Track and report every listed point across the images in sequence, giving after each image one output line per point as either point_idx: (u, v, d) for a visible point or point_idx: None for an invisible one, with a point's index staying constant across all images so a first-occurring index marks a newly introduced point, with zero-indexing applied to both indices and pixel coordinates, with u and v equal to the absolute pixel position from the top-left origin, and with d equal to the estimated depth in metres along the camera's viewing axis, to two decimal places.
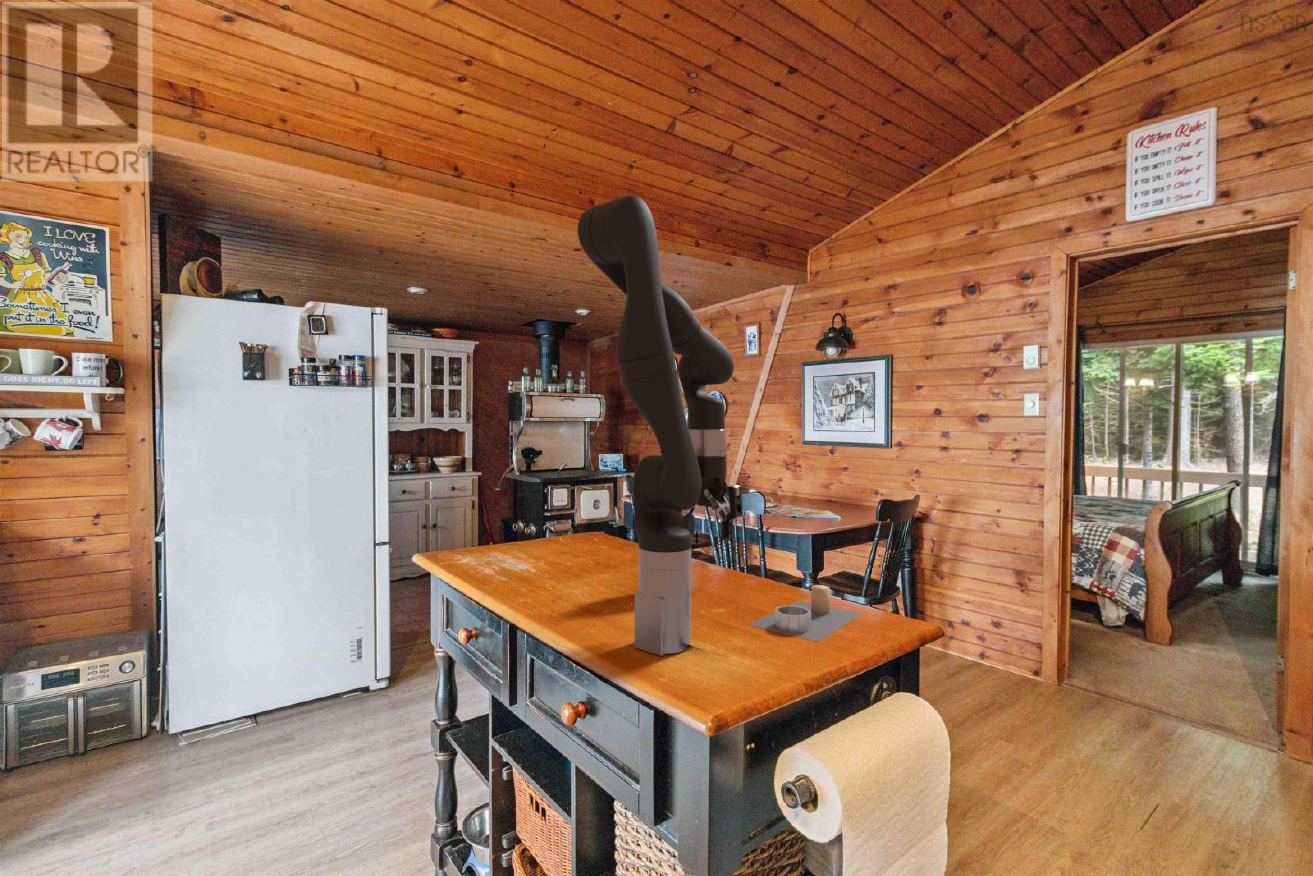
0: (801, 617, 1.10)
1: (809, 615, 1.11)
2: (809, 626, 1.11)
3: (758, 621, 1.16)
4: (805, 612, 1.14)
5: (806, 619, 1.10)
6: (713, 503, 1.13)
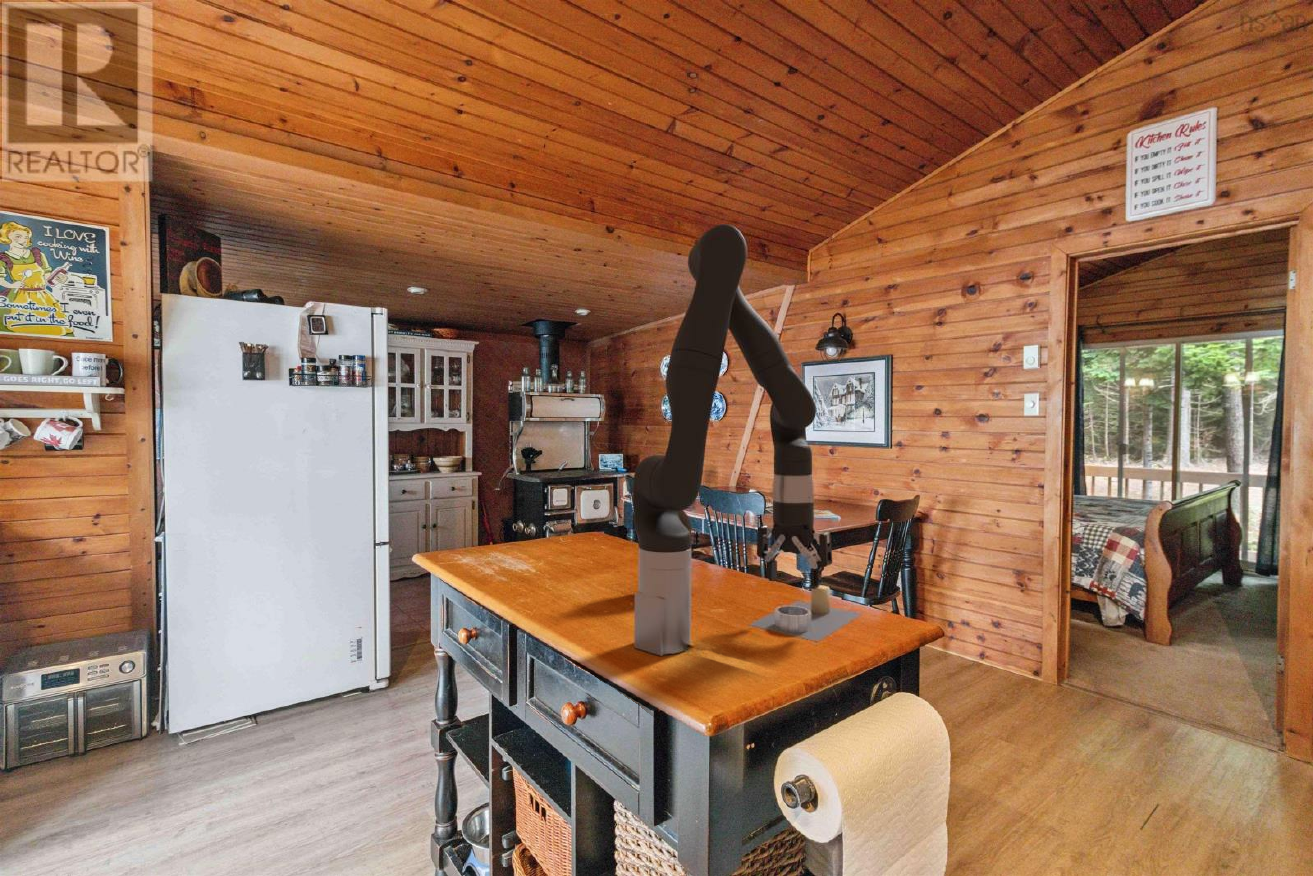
0: (801, 617, 1.10)
1: (809, 615, 1.11)
2: (809, 626, 1.11)
3: (758, 621, 1.16)
4: (805, 612, 1.14)
5: (806, 619, 1.10)
6: (802, 550, 1.11)
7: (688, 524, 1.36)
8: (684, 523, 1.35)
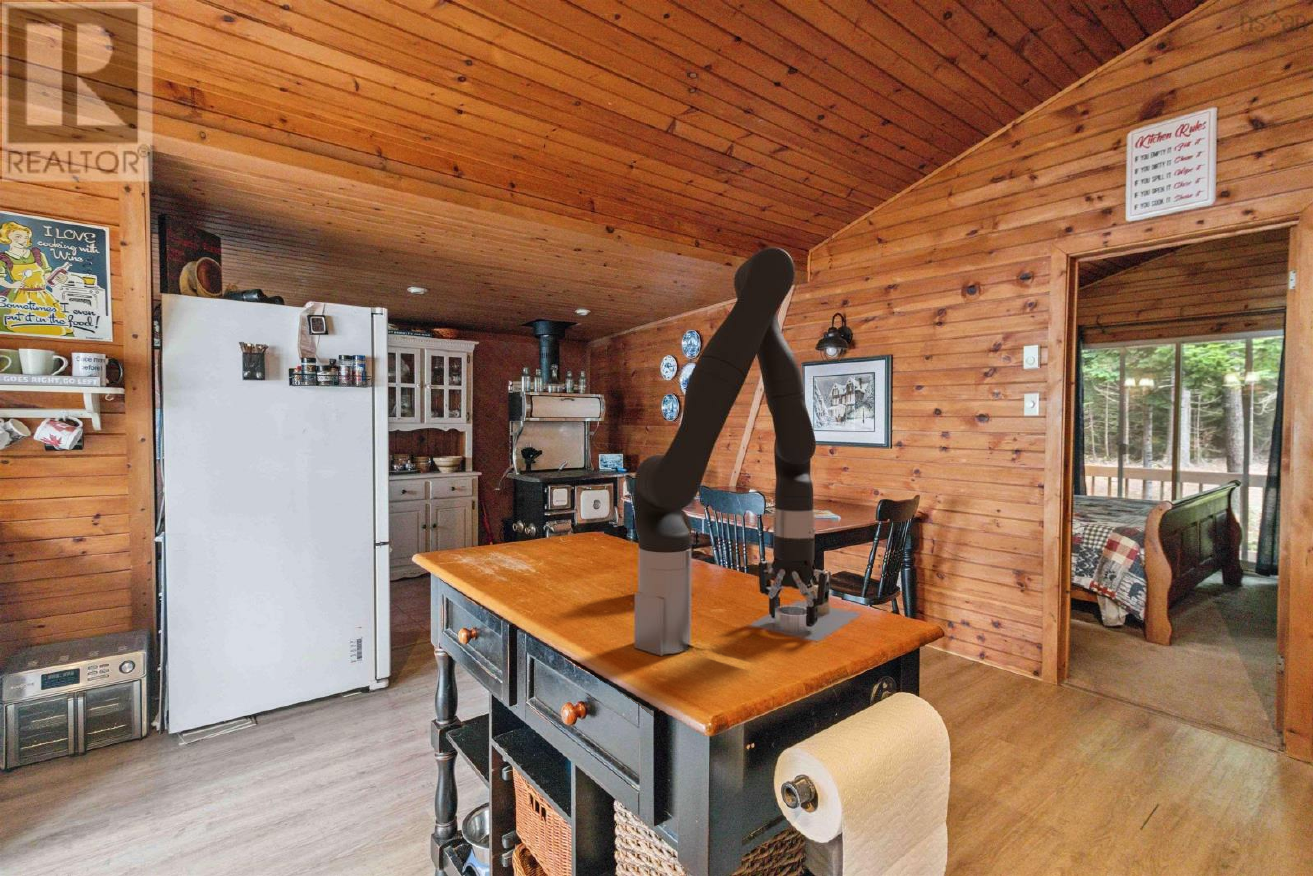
0: (801, 617, 1.10)
1: None
2: None
3: (758, 621, 1.16)
4: (805, 612, 1.14)
5: None
6: (800, 587, 1.10)
7: (688, 524, 1.36)
8: None
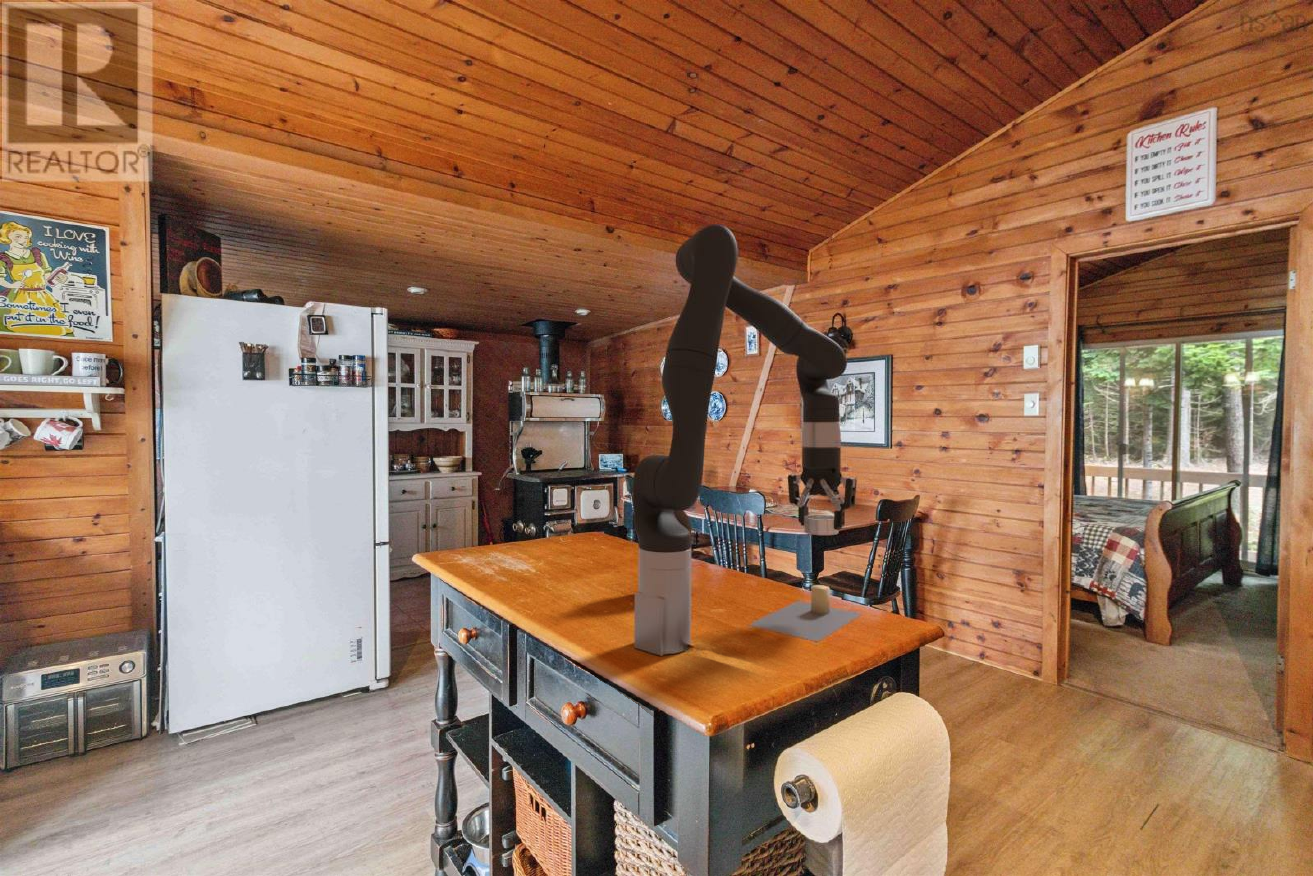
0: (829, 521, 1.19)
1: None
2: (837, 530, 1.20)
3: (758, 621, 1.16)
4: (832, 519, 1.23)
5: None
6: (828, 493, 1.19)
7: (688, 524, 1.36)
8: (684, 523, 1.35)
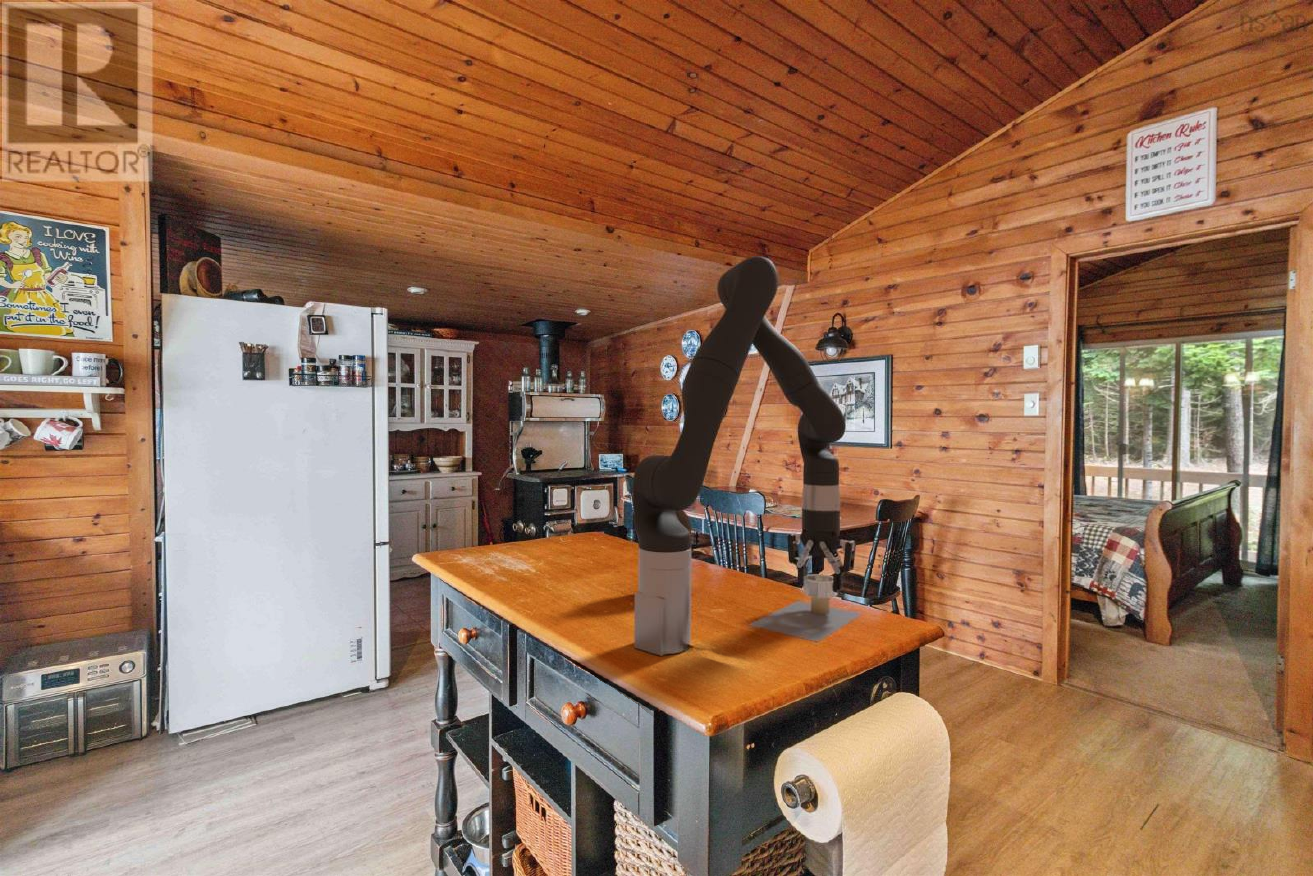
0: (829, 583, 1.19)
1: None
2: (836, 592, 1.21)
3: (758, 621, 1.16)
4: (831, 580, 1.24)
5: None
6: (827, 555, 1.20)
7: (688, 524, 1.36)
8: (684, 523, 1.35)
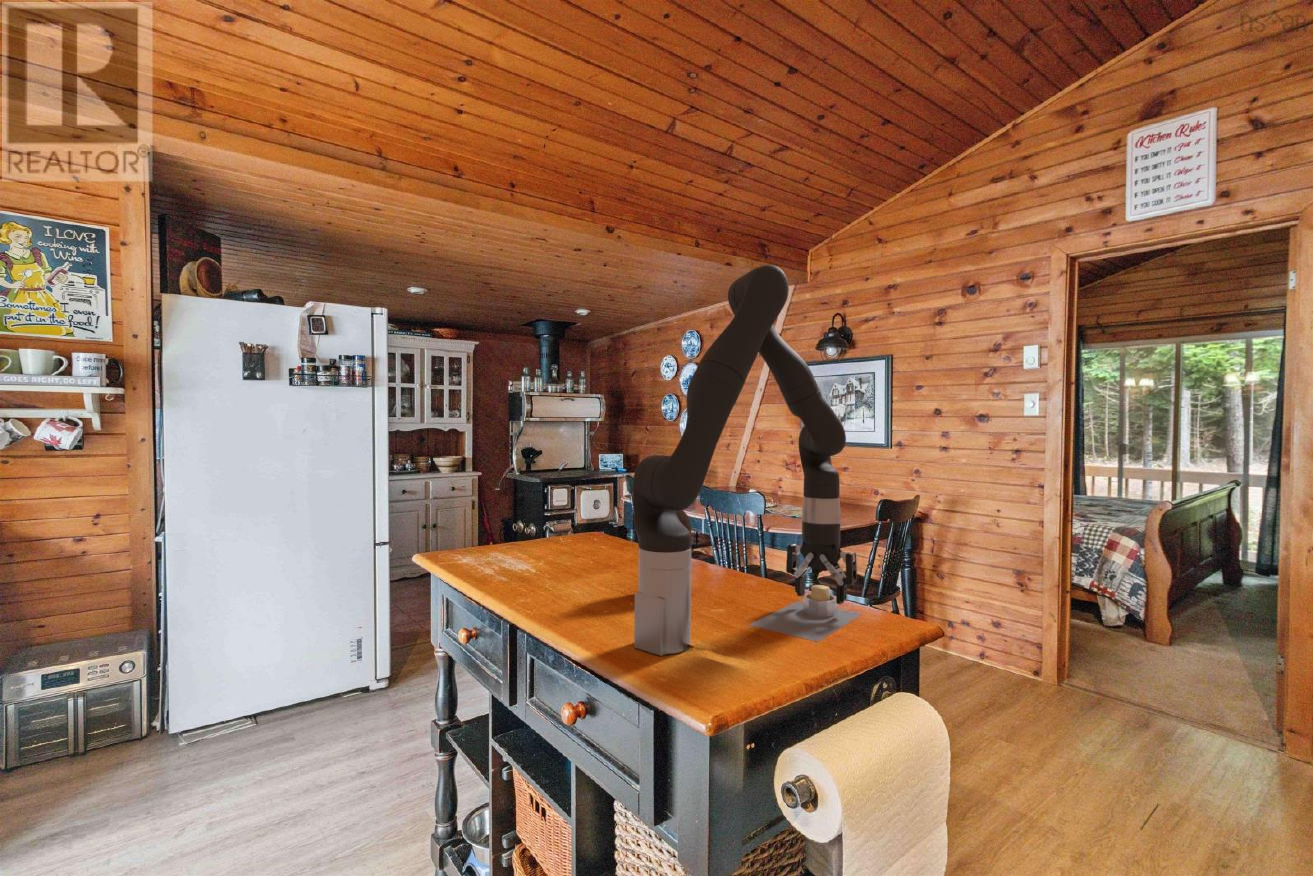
0: (828, 602, 1.19)
1: None
2: (836, 611, 1.21)
3: (758, 621, 1.16)
4: (831, 598, 1.23)
5: (833, 604, 1.20)
6: (829, 568, 1.19)
7: (688, 524, 1.36)
8: (684, 523, 1.35)
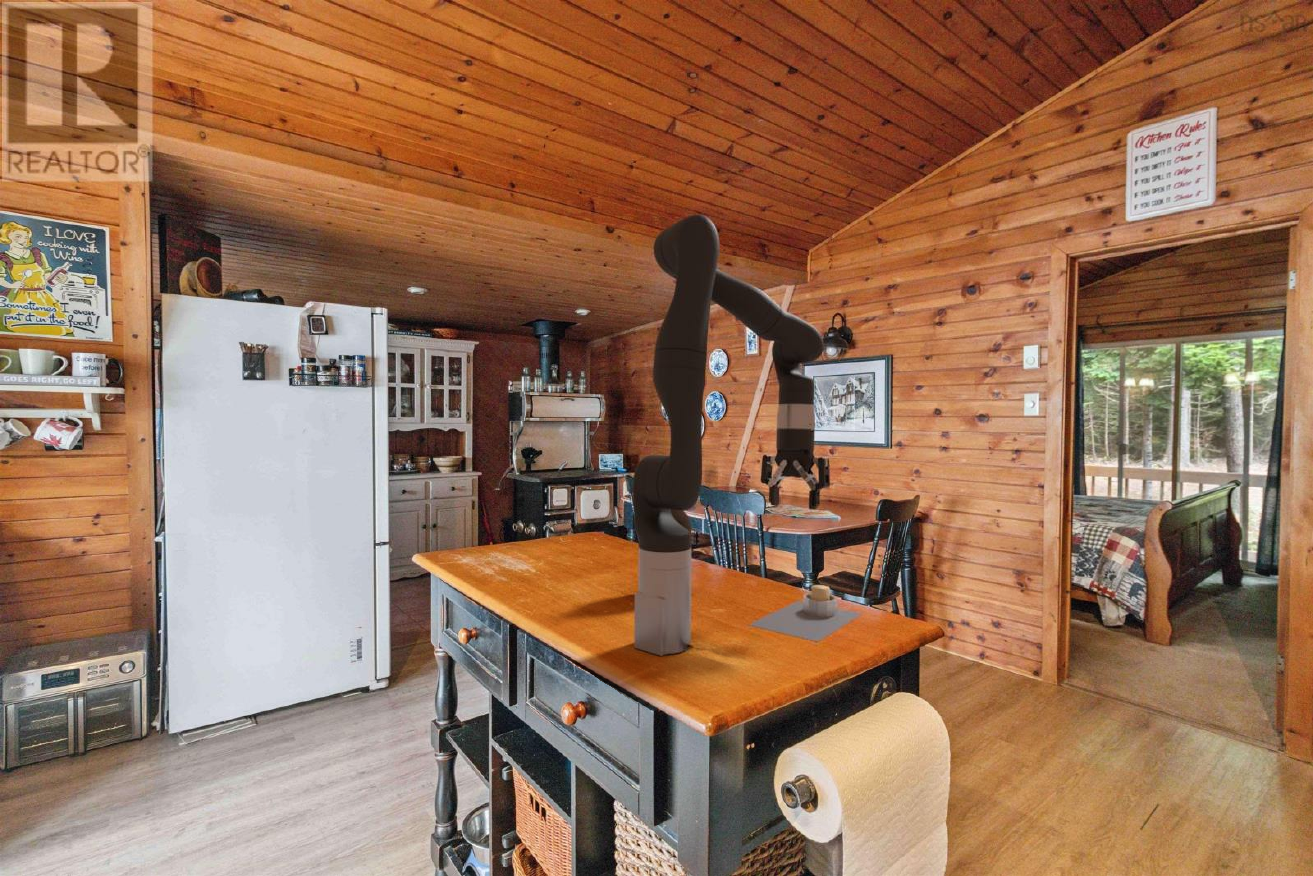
0: (828, 602, 1.19)
1: (836, 601, 1.21)
2: (836, 611, 1.21)
3: (758, 621, 1.16)
4: (831, 598, 1.23)
5: (833, 604, 1.20)
6: (802, 473, 1.20)
7: (688, 524, 1.36)
8: (684, 523, 1.35)
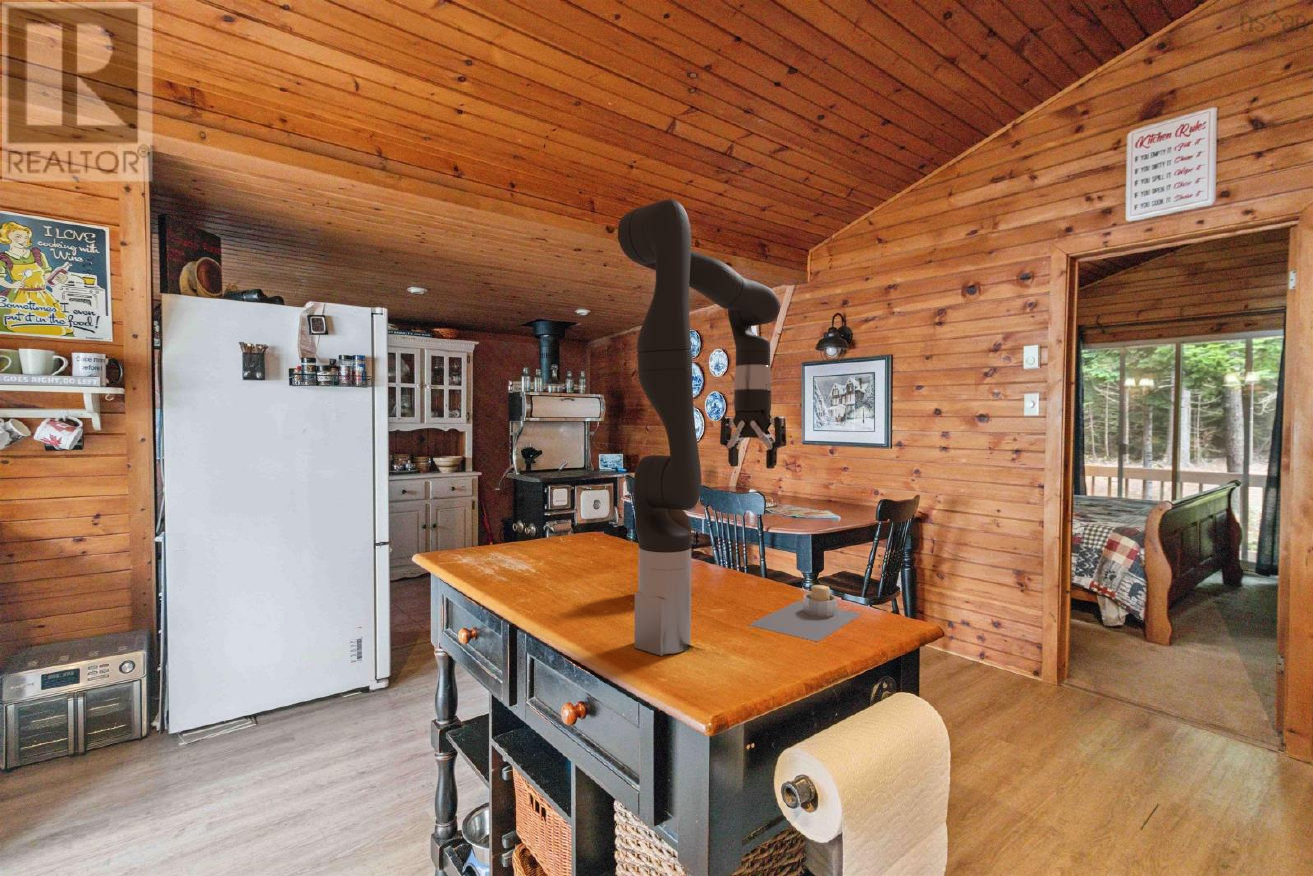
0: (828, 602, 1.19)
1: (836, 601, 1.21)
2: (836, 611, 1.21)
3: (758, 621, 1.16)
4: (831, 598, 1.23)
5: (833, 604, 1.20)
6: (759, 433, 1.21)
7: (688, 524, 1.36)
8: (684, 523, 1.35)
